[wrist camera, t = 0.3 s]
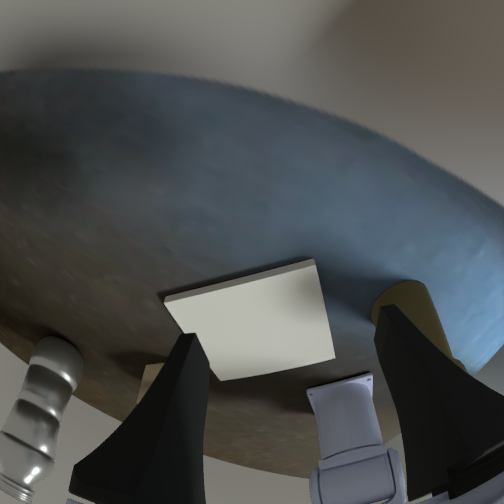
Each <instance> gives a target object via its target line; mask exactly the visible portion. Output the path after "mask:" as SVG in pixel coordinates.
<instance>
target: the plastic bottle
mask: <svg viewBox="0 0 504 504" xmlns="http://www.w3.org/2000/svg"><path fill="white" fill-rule="evenodd" d="M83 370H84V363H83V359H82V356H81V354H80V353H79V351H78V350H77V349H76V348H75V347H74V346H72V345H71V344H69V343H68V342H66V341H65V340H63V339H60V338H58V337H53V336H48V337H45V338H43V339H41V340H40V341H39V342H38V344H37V345H36V346H35V348H34V349H33V352H32V355H31V358H30V363H29V368H28V371H27V374H26V376H25V379H24V382H23V385H22V389H21V391H20V393H19V395H18V399H17V400H16V402H15V404H14V406H13V408H12V410H11V412H10V414H9V416H8V418H7V420H6V421H5V423H4V425H3V427H2V429H1V431H0V460H1V463H2V466H3V473H0V490H2V491H3V492H5V493H7V494H8V495H10V496H12V497H14V498H15V499H17V500H19V501H21V502H24V503H26V504H31V502H32V496H33V495H34V493H35V492H34V491H33V490H32V488H33V486H34V485H35V484H37V483H39V482H40V481H43V480H44V479H45V478H47V477H48V476H49V475H50V474H51V472H52V471H53V469H54V463H55V462H54V459H55V453H56V444H57V436H58V432H59V428H60V422H61V420H62V416H63V413H64V411H65V409H66V406H67V404H68V402H69V400H70V397H71V395H72V393H73V392H74V391H75V389H76V388H77V386H78V384H79V382H80V380H81V378H82V375H83Z"/></svg>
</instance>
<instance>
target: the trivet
mask: <svg viewBox="0 0 504 504" xmlns="http://www.w3.org/2000/svg"><path fill="white" fill-rule="evenodd" d="M164 304H165V306H166V307H167V309H168V310H169V312H170V313H171V315H172V316H173V318H174V319H175V320H176V322H177V323H178V325H179V326H180V328H181V329H182V330H183V332H184V333H196V334H197V337H198V339H199V341H200V343H201V345H202V347H203V349H204V352H205V354H206V356H207V358H208V360H209V362H210V368H211V369H212V371H213V372H214V373H215V374H216V376H217V377H218V378H219V380H220V381H225V380H232V379H238V378H244V377H250V376H256V375H262V374H267V373H272V372H277V371H282V370H287V369H292V368H296V367H301V366H305V365H310V364H314V363H318V362H322V361H326V360H330V359H334V358H335V354H334V349H333V343H332V338H331V333H330V328H329V323H328V318H327V314H326V309H325V304H324V300H323V295H322V290H321V286H320V282H319V277H318V273H317V269H316V264H315V261H314V258H313V259H309V260H305V261H302V262H298V263H294V264H291V265H287V266H283V267H279V268H276V269H272V270H268V271H264V272H260V273H257V274H253V275H249V276H245V277H241V278H237V279H233V280H230V281H226V282H222V283H218V284H214V285H210V286H206V287H202V288H198V289H194V290H190V291H186V292H182V293H178V294H173V295H169V296H166V297H165V300H164Z"/></svg>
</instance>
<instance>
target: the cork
mask: <svg viewBox="0 0 504 504" xmlns="http://www.w3.org/2000/svg"><path fill="white" fill-rule="evenodd" d="M390 304H395V305H396V306H397V307H398V308H399V309H400V310H401V311H402V312H403V313H404V314H405V315H406V316H407V317H408V319H409V320H410V321H411V322H412V323H413V324H414V325H415V326H416V327H417V328H418V329H419V330H420V331H421V332H422V333H423V334H424V335H425V336H426V337H427V338H428V339H429V340H430V341H431V342H432V343H433V344H434V345H435V346H436V347H437V348H438V349H439V350H440V351H441V352H443V353H444V354H445V355H446V356H447V357H448V358H449V359H450V360H452V361H453V362H454V363H455V364H456V365H458V366H459V367H460V368H461V369H463V370H464V371H465V372H467V370H466V368H465V366H464V365H463V364H462V363H461V362H460V361H459V360H457V359H454V358H453V356H452V353H451V350H450V347H449V344H448V341H447V338H446V335H445V333H444V330H443V327H442V324H441V322H440V319H439V316H438V314H437V311H436V309H435V306H434V304H433V301H432V299H431V297H430V294H429V292H428V289H427V288H426V286H425V285H424V284H423V283H421V282H419V281H412V280H409V281H404V282H400V283H398V284H396V285H394V286H392V287H390V288H389V289H387V290H386V291H385V292H383V293H382V294H381V295H380V296H379V298H378V299H377V300H376V301H375V303H374V305H373V307H372V309H371V319H372V322H373V323H374V325H375V327H376V326H377V321H378V316H379V310H380V306H385V305H390ZM467 373H468V372H467Z"/></svg>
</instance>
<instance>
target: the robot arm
mask: <svg viewBox="0 0 504 504" xmlns="http://www.w3.org/2000/svg"><path fill="white" fill-rule="evenodd" d="M374 342H375V346H376V351H377V355H378V358H379V362H380V365H381V368H382V370H383V373H384V376H385V379H386V381H387V384H388V387H389V389H390V392H391V395H392V398H393V401H394V404H395V407H396V410H397V414H398V418H399V423H400V428H401V433H402V439H403V446H404V453H405V462H406V472H407V473H406V474H407V496H408V501H409V502H410V501H413V500H416V499H418V498H421V497H424V496H426V495H429V494H431V493H432V496H433V497H432V498H430V499H427V500H425V501H423V502H420V503H417V504H504V396H503V395H501V394H499V393H498V392H496V391H494V390H492V389H490V388H489V387H487V386H486V385H484V384H483V383H481V382H479V381H478V380H476V379H475V378H473V377H472V376H471V375H469V374H468V373H467V372H465V371H464V370H463V369H461V368H460V367H459V366H458V365H456V364H455V363H454V362H453V361H452V360H450V359H449V358H448V357H447V356H446V355H445V354H444V353H443V352H441V351H440V350H439V349H438V348H437V347H436V346H435V345H434V344H433V343H432V342H431V341H430V340H429V339H428V338H427V337H426V336H425V335H424V334H423V333H422V332H421V331H420V330H419V329H418V328H417V327H416V326H415V325H414V324H413V323H412V322H411V321H410V320H409V319H408V317H407V316H406V315H405V314H404V313H403V312H402V311H401V310H400V309H399V308H398V307H397V306H396V305H395V304H390V305H385V306H380V310H379V316H378V321H377V326H376V331H375V336H374ZM209 386H210V362H209V360H208V358H207V356H206V354H205V352H204V349H203V347H202V345H201V343H200V341H199V339H198V337H197V334H196V333H184V334H181V335H180V336H179V338H178V340H177V341H176V343H175V345H174V347H173V349H172V350H171V352H170V354H169V356H168V358H167V359H166V361H165V363H164V365H163V366H162V368H161V370H160V371H159V373H158V375H157V376H156V378H155V379H154V381H153V383H152V384H151V386H150V387H149V389H148V390H147V392H146V393H145V395H144V396H143V397H142V399H141V400H140V402H139V403H138V404H137V406H136V407H135V408H134V410H133V411H132V412H131V413H130V415H129V416H128V417H127V418H126V419H125V420H124V421H123V423H122V424H121V425H120V426H119V427H118V428H117V429H116V430H115V431H114V432H113V433H112V434H111V435H110V436H109V437H108V438H107V439H106V440H105V441H104V442H103V443H102V444H101V445H100V446H99V447H98V448H96V449H95V450H94V451H93V452H91V453H90V454H89V455H88V456H86V457H85V458H84V459H82V460H81V461H79V462H78V463H77V464H75V465H74V468H73V472H72V476H71V481H70V486H69V492H70V493H71V494H74V495H76V496H78V497H81V498H84V499H86V500H88V501H91V502H94V503H95V504H206V500H205V490H204V473H203V435H204V425H205V418H206V410H207V402H208V394H209ZM372 387H373V375H372V373H367V374H364V375H360V376H357V377H353V378H349V379H346V380H342V381H338V382H334V383H330V384H326V385H322V386H318V387H313V388H309V389H307V390H306V393H307V396H308V398H309V401H310V403H311V406H312V409H313V411H314V414H315V416H316V421H317V428H318V435H319V443H320V451H321V459H322V460H321V461H318V462H319V467H317V468H315V469H314V470H313V472H312V473H311V474H310V479H309V489H310V497H311V502H312V504H371V503H374V502H378V501H381V500H385V499H388V498H390V499H389V500H388V501H386V502H384V503H382V504H404V503H405V501H406V494H405V480H404V473H403V468H402V464H401V460H400V457H399V454H398V452H397V451H396V450H394V449H393V448H389V449H387V450H386V446H385V444H383V441H382V437H381V432H380V428H379V424H378V420H377V416H376V412H375V409H374V405H373V401H372ZM66 504H82V503H80V502H77V501H74V500H72V499H67V502H66Z"/></svg>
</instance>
